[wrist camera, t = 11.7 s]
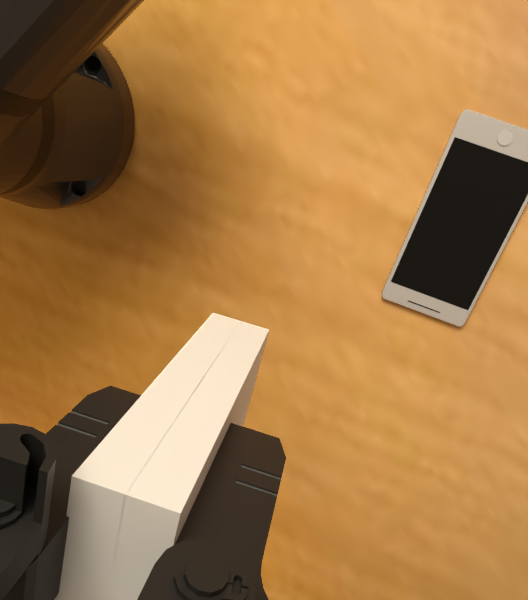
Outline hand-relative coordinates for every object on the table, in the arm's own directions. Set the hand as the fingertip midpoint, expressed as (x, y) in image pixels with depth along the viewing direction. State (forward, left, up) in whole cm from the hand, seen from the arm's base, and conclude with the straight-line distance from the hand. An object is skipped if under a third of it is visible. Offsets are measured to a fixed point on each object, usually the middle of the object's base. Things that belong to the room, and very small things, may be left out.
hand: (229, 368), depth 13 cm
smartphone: (+11, +2, -30) cm, 32 cm away
